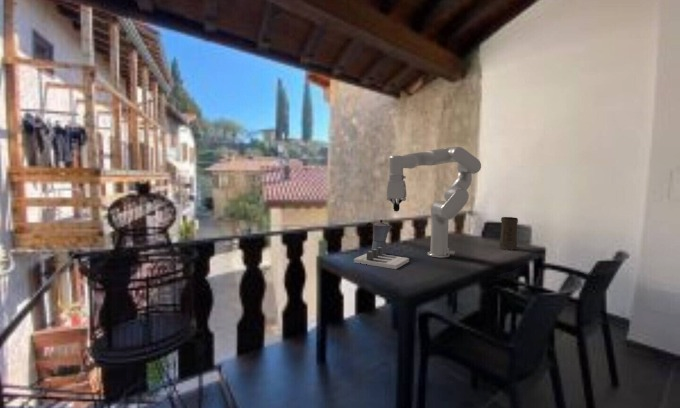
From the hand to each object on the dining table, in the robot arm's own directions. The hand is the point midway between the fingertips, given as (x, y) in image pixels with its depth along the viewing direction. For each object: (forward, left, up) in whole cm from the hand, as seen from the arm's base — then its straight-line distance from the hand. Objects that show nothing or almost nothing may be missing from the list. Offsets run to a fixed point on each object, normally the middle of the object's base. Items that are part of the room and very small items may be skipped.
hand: (396, 211), depth 233 cm
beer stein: (-49, -65, -26) cm, 85 cm away
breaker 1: (+6, +20, -24) cm, 32 cm away
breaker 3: (+6, +8, -24) cm, 26 cm away
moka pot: (+12, -3, -26) cm, 29 cm away
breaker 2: (+6, +14, -24) cm, 29 cm away
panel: (+2, +14, -26) cm, 30 cm away
